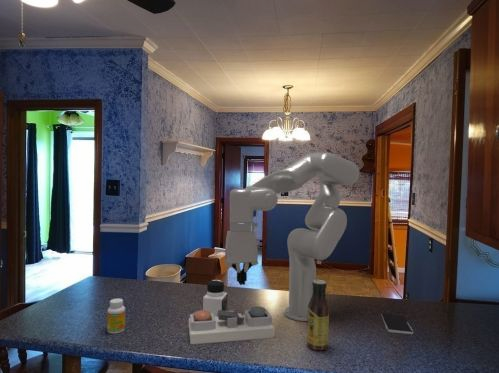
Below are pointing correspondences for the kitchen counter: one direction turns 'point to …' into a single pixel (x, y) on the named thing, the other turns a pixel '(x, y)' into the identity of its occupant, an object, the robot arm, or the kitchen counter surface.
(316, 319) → the sauce bottle
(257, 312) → the slate button
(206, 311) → the terracotta button
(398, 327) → the smartphone
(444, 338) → the kitchen counter surface
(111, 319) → the supplement bottle
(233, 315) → the block
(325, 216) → the robot arm
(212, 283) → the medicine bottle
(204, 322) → the switch panel
